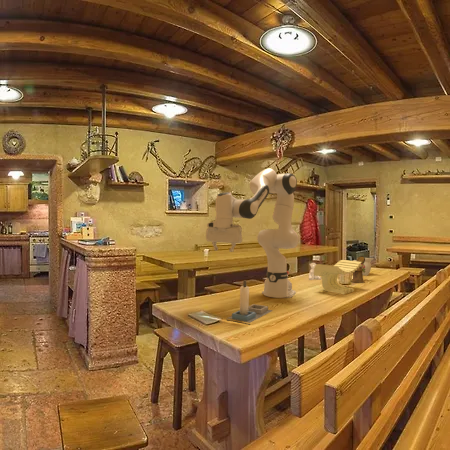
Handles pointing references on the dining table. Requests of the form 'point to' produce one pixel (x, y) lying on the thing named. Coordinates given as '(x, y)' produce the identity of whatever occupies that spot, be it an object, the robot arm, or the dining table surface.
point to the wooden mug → (358, 272)
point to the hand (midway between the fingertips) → (223, 251)
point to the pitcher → (366, 266)
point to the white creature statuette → (311, 274)
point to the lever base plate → (250, 314)
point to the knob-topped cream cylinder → (244, 299)
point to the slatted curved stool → (335, 275)
